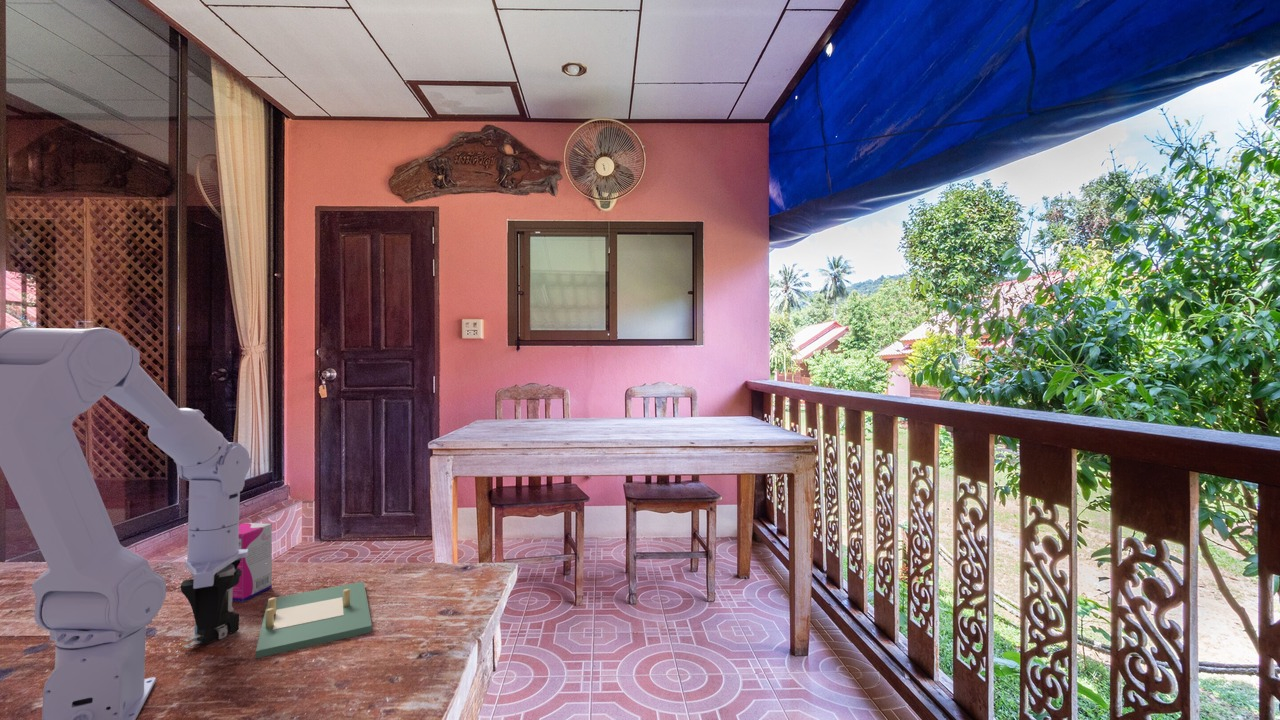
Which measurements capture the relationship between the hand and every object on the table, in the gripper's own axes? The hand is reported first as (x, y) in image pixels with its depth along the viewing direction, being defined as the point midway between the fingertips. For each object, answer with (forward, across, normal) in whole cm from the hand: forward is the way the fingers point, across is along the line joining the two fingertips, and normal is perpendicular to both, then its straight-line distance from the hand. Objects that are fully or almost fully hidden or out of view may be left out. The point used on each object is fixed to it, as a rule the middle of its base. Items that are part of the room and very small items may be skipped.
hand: (211, 619), depth 75 cm
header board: (+3, 0, -13) cm, 13 cm away
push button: (+3, 0, 0) cm, 3 cm away
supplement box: (+3, +16, -2) cm, 16 cm away
